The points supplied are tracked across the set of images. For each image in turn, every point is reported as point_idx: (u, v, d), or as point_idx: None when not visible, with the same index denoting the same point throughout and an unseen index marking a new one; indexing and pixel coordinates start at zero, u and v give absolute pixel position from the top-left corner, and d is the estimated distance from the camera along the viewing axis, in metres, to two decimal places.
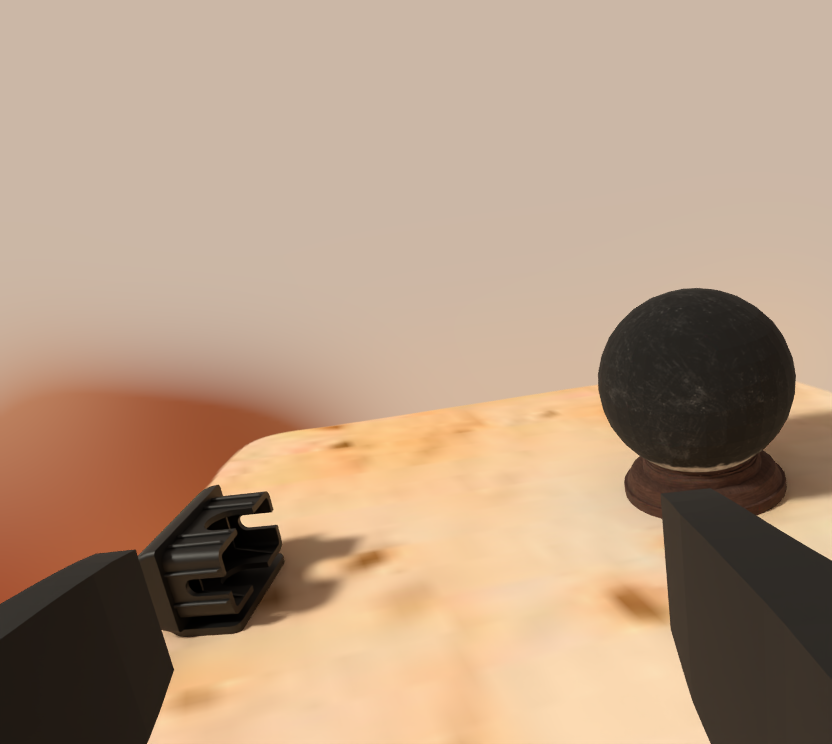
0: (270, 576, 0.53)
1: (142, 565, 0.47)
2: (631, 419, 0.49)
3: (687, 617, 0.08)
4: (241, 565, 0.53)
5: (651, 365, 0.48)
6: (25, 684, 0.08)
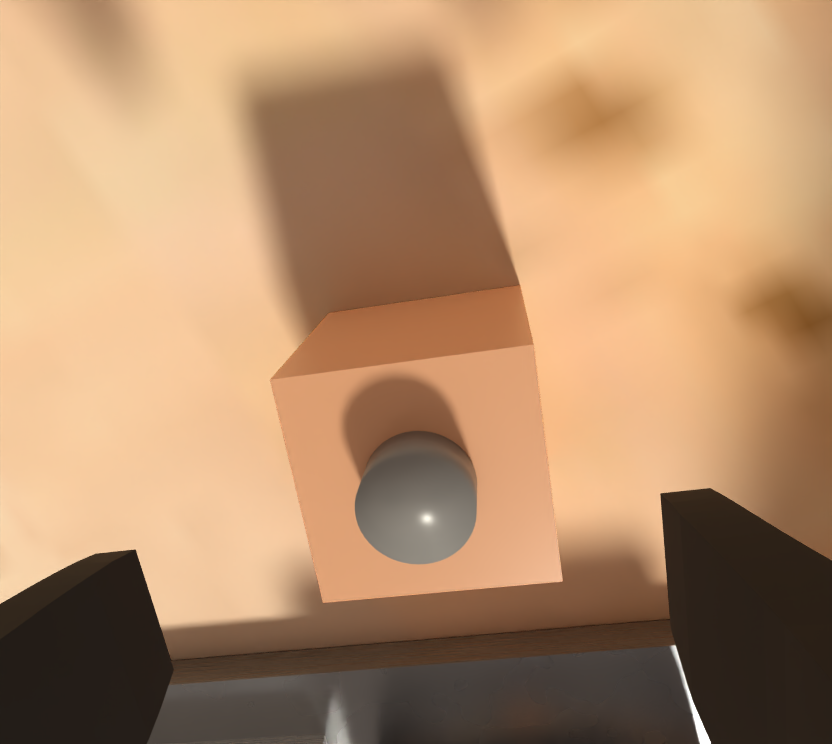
0: None
1: None
2: None
3: (687, 617, 0.08)
4: None
5: None
6: (25, 684, 0.08)
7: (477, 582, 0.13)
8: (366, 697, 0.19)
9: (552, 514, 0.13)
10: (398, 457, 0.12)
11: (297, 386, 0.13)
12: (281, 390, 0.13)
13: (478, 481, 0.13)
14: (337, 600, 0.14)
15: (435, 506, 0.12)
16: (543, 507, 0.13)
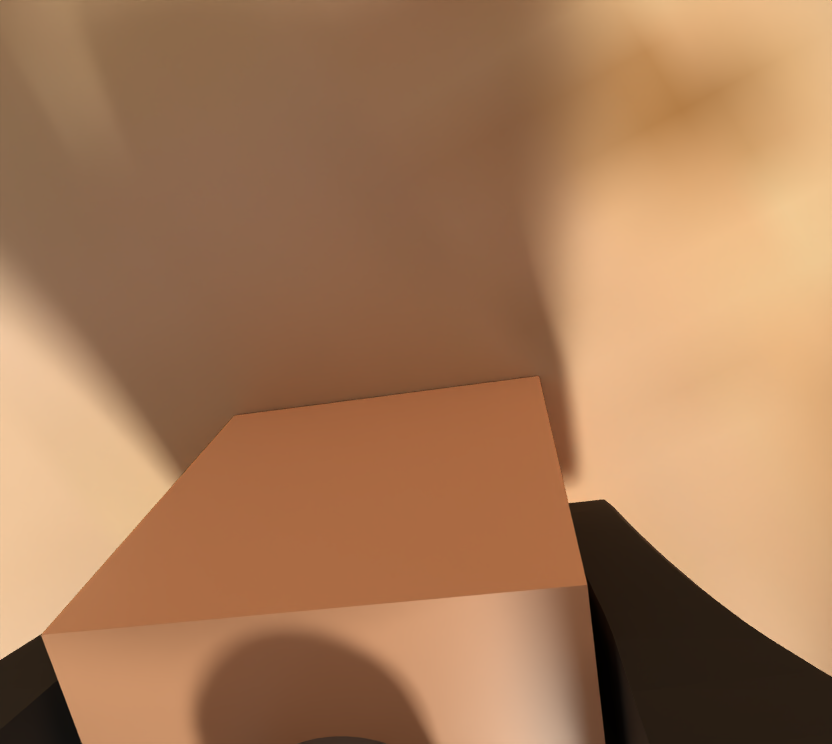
0: None
1: None
2: None
3: None
4: None
5: None
6: None
7: None
8: None
9: None
10: None
11: (97, 648, 0.06)
12: (67, 653, 0.06)
13: None
14: None
15: None
16: None
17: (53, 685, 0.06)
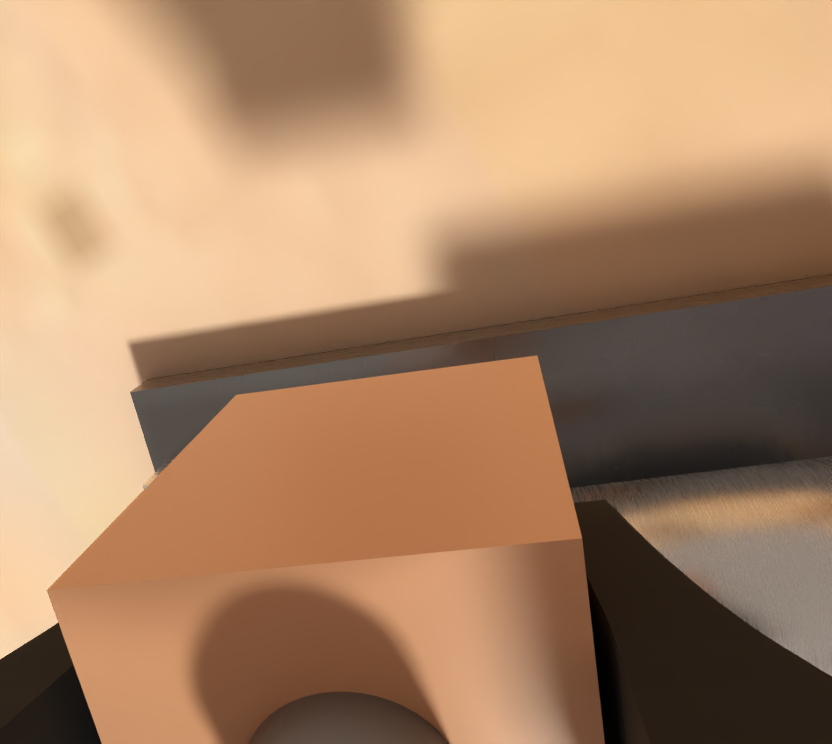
0: None
1: None
2: None
3: None
4: None
5: None
6: None
7: None
8: None
9: None
10: None
11: (102, 603, 0.06)
12: (72, 609, 0.06)
13: None
14: None
15: None
16: None
17: (51, 685, 0.06)
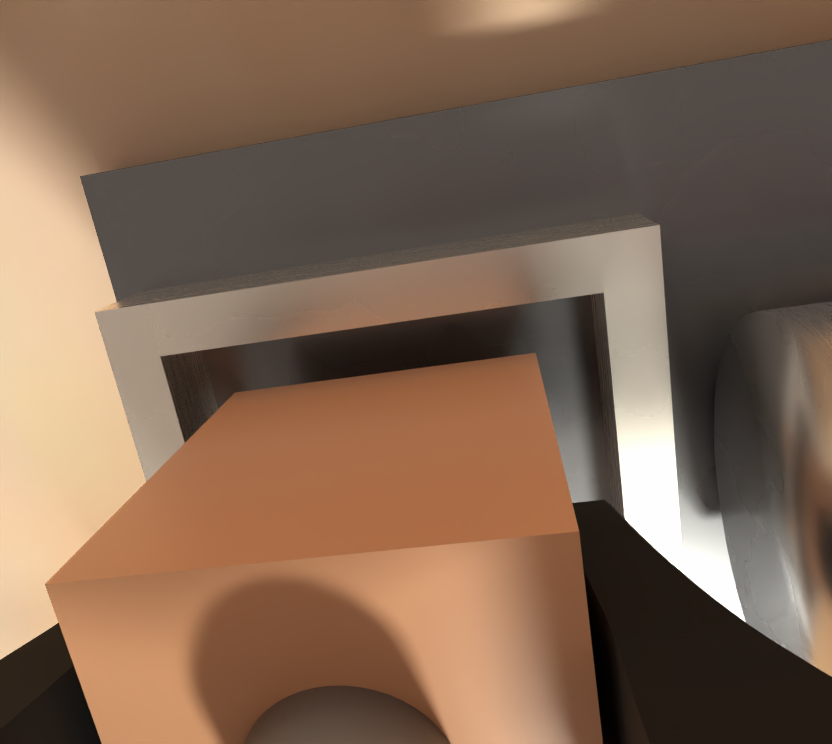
0: None
1: None
2: None
3: None
4: None
5: None
6: None
7: None
8: (726, 123, 0.11)
9: None
10: None
11: (100, 597, 0.06)
12: (70, 603, 0.06)
13: None
14: None
15: None
16: None
17: (52, 685, 0.06)
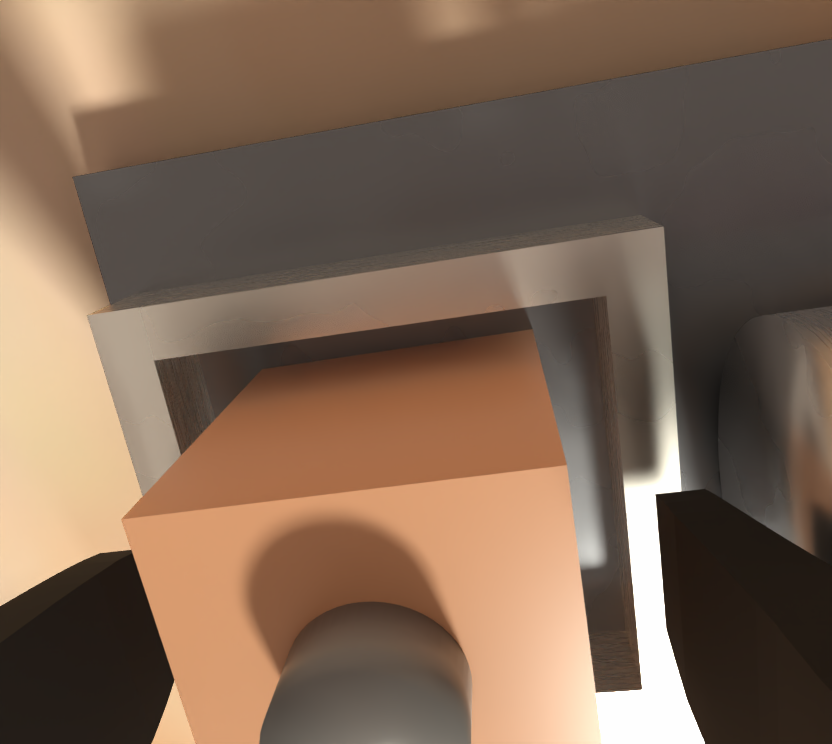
0: None
1: None
2: None
3: (681, 618, 0.08)
4: None
5: None
6: (30, 684, 0.08)
7: None
8: (731, 123, 0.10)
9: (597, 732, 0.08)
10: (331, 672, 0.07)
11: (167, 530, 0.07)
12: (142, 535, 0.08)
13: (474, 679, 0.08)
14: None
15: None
16: (581, 721, 0.08)
17: None
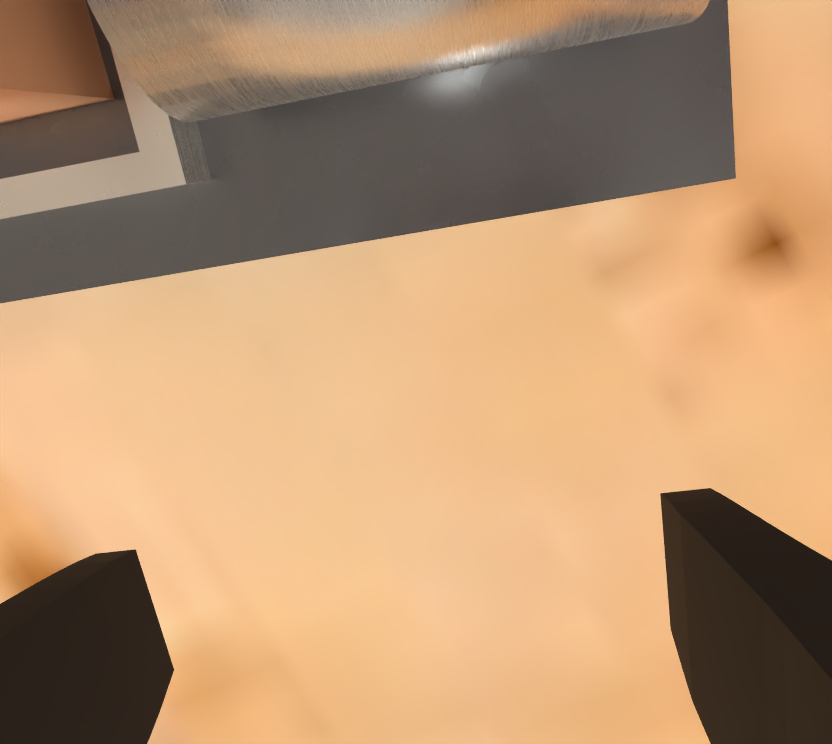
0: None
1: None
2: None
3: (687, 617, 0.08)
4: None
5: None
6: (25, 684, 0.08)
7: None
8: None
9: None
10: None
11: None
12: None
13: None
14: None
15: None
16: None
17: None
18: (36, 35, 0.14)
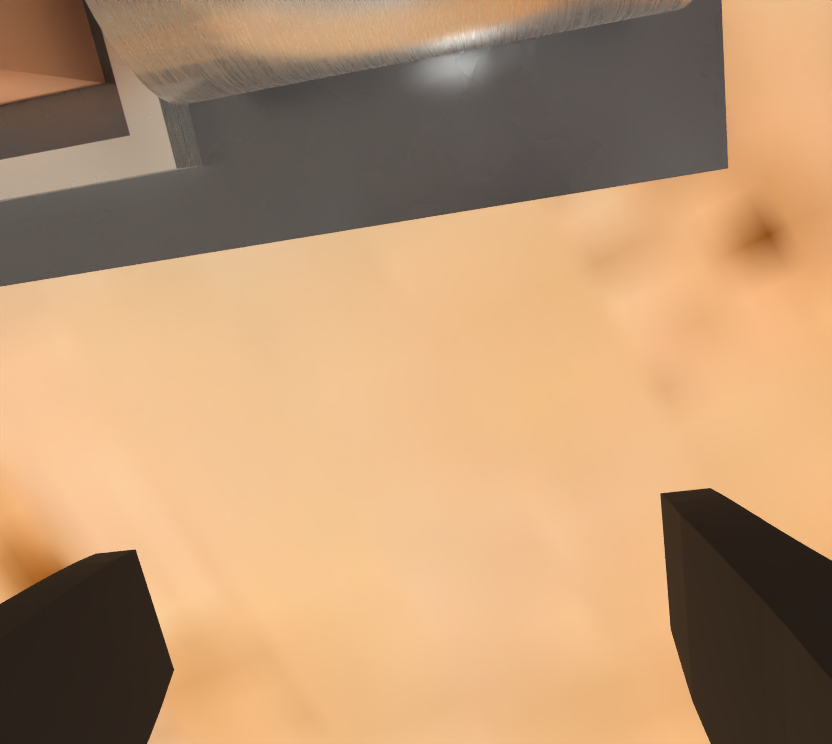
0: None
1: None
2: None
3: (687, 617, 0.08)
4: None
5: None
6: (25, 684, 0.08)
7: None
8: None
9: None
10: None
11: None
12: None
13: None
14: None
15: None
16: None
17: None
18: (26, 16, 0.14)
